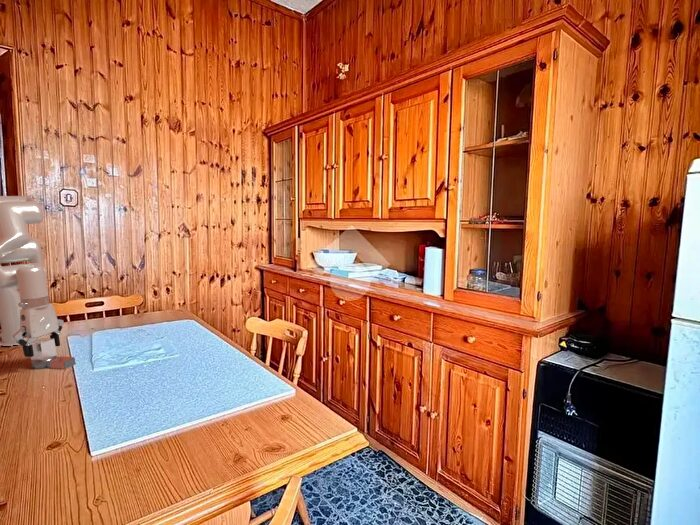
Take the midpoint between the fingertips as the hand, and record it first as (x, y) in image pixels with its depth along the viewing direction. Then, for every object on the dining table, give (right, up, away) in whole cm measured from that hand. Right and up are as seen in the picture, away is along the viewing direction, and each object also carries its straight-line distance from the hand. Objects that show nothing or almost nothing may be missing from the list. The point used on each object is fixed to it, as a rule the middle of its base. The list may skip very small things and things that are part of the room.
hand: (43, 350), depth 138 cm
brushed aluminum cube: (0, -2, 0) cm, 2 cm away
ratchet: (+4, -5, 0) cm, 6 cm away
